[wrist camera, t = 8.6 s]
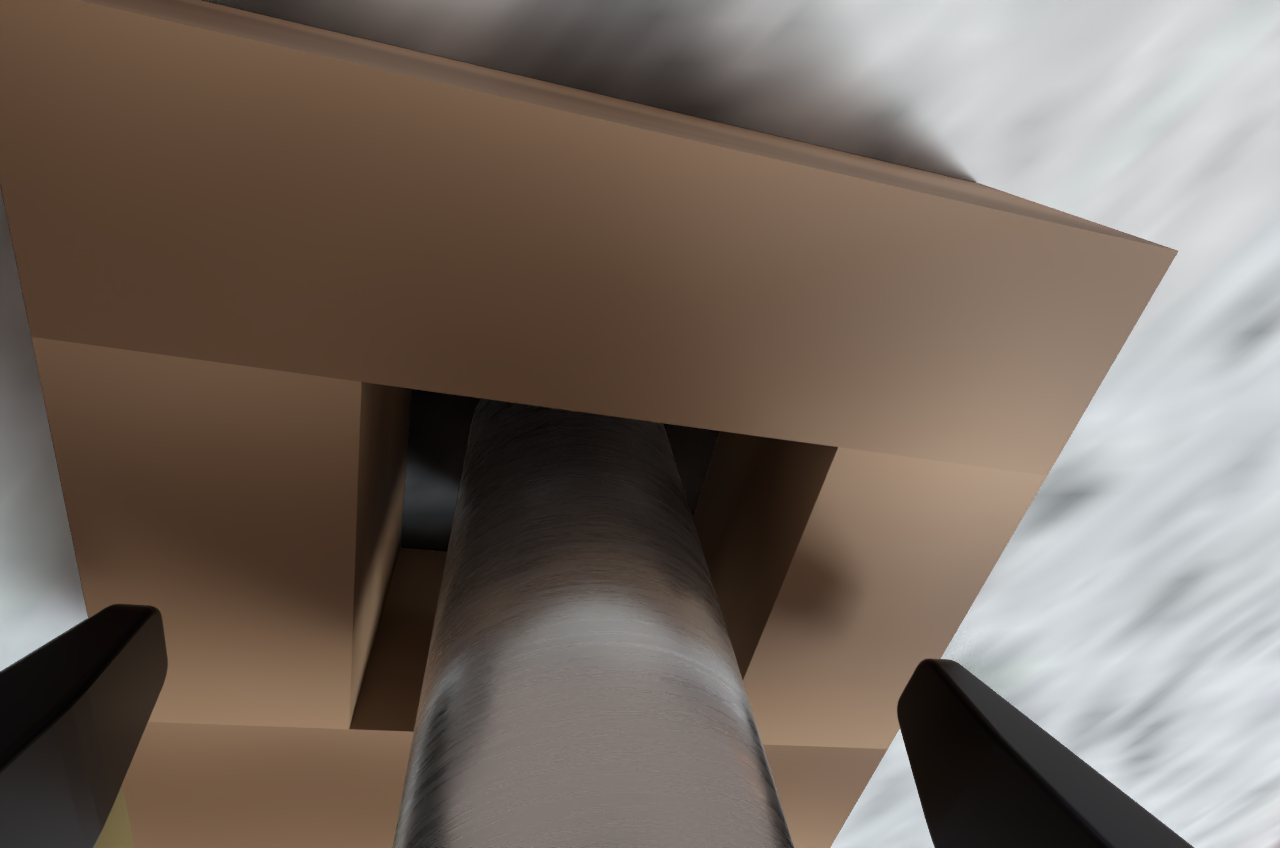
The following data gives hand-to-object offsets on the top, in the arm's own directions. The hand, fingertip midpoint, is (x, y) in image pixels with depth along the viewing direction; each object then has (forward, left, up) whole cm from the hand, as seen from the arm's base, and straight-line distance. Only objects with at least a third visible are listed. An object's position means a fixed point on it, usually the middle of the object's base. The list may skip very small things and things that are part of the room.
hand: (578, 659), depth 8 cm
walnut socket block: (0, 0, -5) cm, 5 cm away
